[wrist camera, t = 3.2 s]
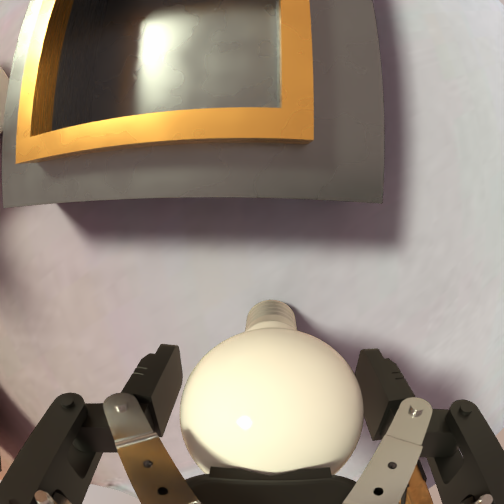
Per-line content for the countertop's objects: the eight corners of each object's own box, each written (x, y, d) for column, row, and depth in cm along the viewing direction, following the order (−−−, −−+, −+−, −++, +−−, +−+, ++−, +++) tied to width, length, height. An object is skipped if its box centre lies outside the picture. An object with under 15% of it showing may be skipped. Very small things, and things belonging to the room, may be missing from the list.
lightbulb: (331, 264, 16) (417, 407, 5) (319, 361, 17) (353, 517, 7) (213, 261, 16) (133, 405, 6) (217, 358, 18) (178, 515, 7)
